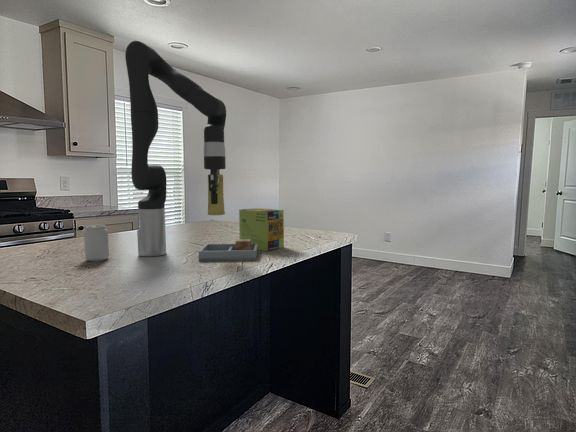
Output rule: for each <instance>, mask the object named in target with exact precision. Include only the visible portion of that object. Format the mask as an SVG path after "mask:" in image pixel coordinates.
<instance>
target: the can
mask: <svg viewBox="0 0 576 432" xmlns="http://www.w3.org/2000/svg"><path fill="white" fill-rule="evenodd" d="M83 239H84V241H83V242H84V255H85V257H84V258H85V259H86V260H87V261H88V262H102V261H106V260H107V259H108V258H109V257H110V247H109V231H108V229H107V228H106V225H105V224H103V225H102V224H100V225H99V224H97V225H87V226H85V229H84V230H83Z"/></svg>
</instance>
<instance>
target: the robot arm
mask: <svg viewBox="0 0 576 432" xmlns="http://www.w3.org/2000/svg"><path fill="white" fill-rule="evenodd" d="M126 46H127V47H126V49H125V62H126V63H125V64H126V72H127V77H128V78H127V79H128V85H129V87H128V88H129V99H130V100H129V101H130V104H129V105H130V125H131V137H132V138H131V143H132V144H131V145H132V146H131V147H132V149H131V151H132V153H131V171H130V172H131V173H130V174H131V182H132V185H133V186H134V187H135V188H134V189H136V190H138V191H148V193H147V195H146V196H145V197H144V198H142V199H140V200H139V201H138V203H137V211H138V212H137V213H138V229H137V230H136V232H137V233H136V236H137V254H138V255H137V256H138V257H139V256H142V257H159V256H163V255H166V254H167V235H166V234H167V233H166V213H165V212H166V209H165V204H166V200H167V175H166V170H165V168H164V167H163V166H162V165H159V164H149V163H148V161H149V160H148V159H149V158H148V157H149V149H150V146H151V144H152V142H153V141H154V139H155V137H156V135H157V133H158V130H159V113H158V112H159V111H158V105H157V103H156V100H155V97H154V94H153V92H152V91H153V90H152V89H151V85H150V79H149V77H150V76H152V77H154V78H155V79H158V80H159V81H161V82H163V83H164V84H165V85H167V87H168V88H170V89H171V91H173V92H174V93H175V94H176V95H177V96H178V97H180V98H181V99H182V100H184V101H186V103H188V104H190V105H192V106H193V108H195V109H196V110H198V112H199V113H201V114H203V116H205V117H207V123H206V124H207V125H206V126H205V127H204V128H203V168H204V170H210V172H209V173H210V174H207V178H208V177H209V192H210V193H211V204H217V203H218V187H219V179H220V176H219V178H218V182H217V175H221V174H220V170H225V169H226V162H227V161H226V147H225V145H226V144H225V126H226V120H227V108H226V105H225V102H223V101H222V100H221V99H220V98H217V97H215V96H214V95H212V94H211V93H209V92H208V91H206V90H204V89H203V88H202V86H201V85H199V84H198V83H196V82H195V81H193V80H192V79H190V78H189V77H188V76H186V75H184V74H183V73H181V72H180V71H178V70H176V69H175V68H174V67H172V65H170V64H169V63H168V62H167V61H166V60H164V59H163V57H162V56H161V55H160V54H159V53H158V52H157V51H156V50H155V49H154V48H153V47H151V46H150V45H147V44H146V43H144V42H143V41H140V40H133V41H130V42H129V43H128V45H126ZM216 182H217V183H216ZM212 187H215V188H212Z"/></svg>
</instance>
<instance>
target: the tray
mask: <svg viewBox="0 0 576 432" xmlns="http://www.w3.org/2000/svg"><path fill="white" fill-rule="evenodd" d="M197 252H198V262H205V261H208V262H209V261H210V262H212V261H214V262H216V261H256V260H257V257H258V253H259V250H258V243H251V250H236V243H206V244H204V245H203V246H202V247H201V248H200V250H198V251H197Z"/></svg>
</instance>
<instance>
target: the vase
mask: <svg viewBox="0 0 576 432" xmlns="http://www.w3.org/2000/svg"><path fill="white" fill-rule="evenodd" d="M219 176H220V179H219V187H218V203H217V204H211V193H210V192H209V177H208V176H207V200H208V201H207V216H224V215H225V214H226V212H225V211H226V210H225V201H224V175H223V174H220V175H217V182H218V178H219ZM217 182H216V183H217ZM212 188H215V187H212Z"/></svg>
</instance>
